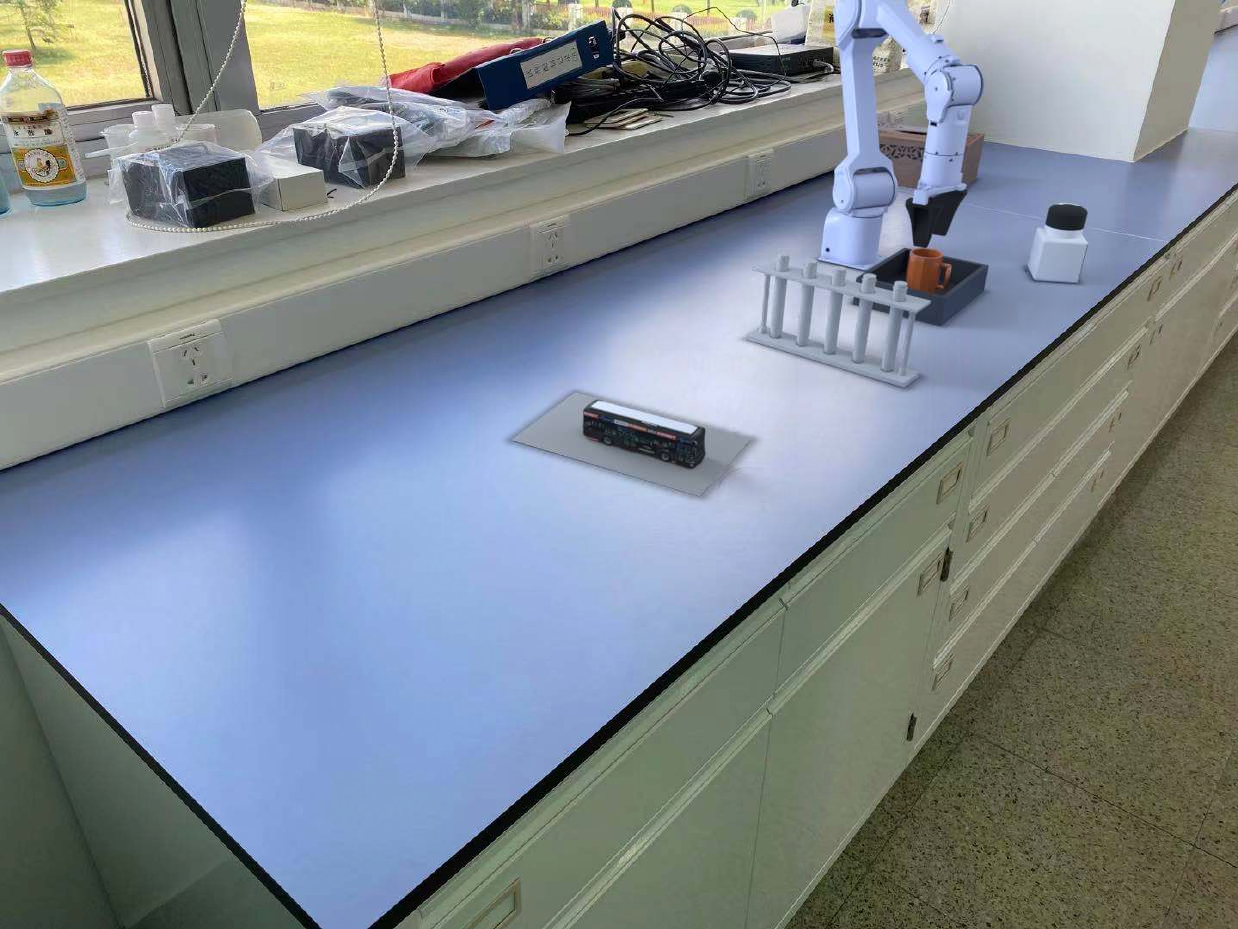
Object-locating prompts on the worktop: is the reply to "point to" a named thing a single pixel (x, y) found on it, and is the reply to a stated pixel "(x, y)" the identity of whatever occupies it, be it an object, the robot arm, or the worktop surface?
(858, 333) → the test tube rack
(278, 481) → the worktop surface
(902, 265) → the bin
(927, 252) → the cup
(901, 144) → the tissue box cover
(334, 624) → the worktop surface
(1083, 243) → the medicine bottle
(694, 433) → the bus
